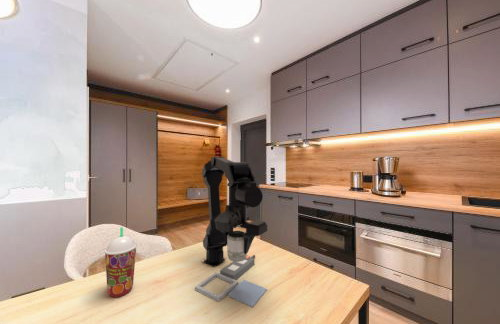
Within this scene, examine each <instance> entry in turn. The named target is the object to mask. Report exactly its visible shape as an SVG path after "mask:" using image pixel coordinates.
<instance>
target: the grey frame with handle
mask: <svg viewBox="0 0 500 324" xmlns="http://www.w3.org/2000/svg"><path fill="white" fill-rule="evenodd" d="M255 258H256V255H255V254H253V255H248V254H247V255H246V259H245V260H243V261H240V262H234V261H231V262H230V263H229V264H228V265H225V267H222V269H221V270H220V272H214V273H213V274H211V275H210V276H208V277H207V278H205V279H204V280H202V281H201V282H199V283H198V284H197V285H195V286H194V291H196V292H198V293H200V294H202V295H204V296H205V297H208V298H210V299H212V300H214V301H216V302H217V303H219V302H221V300H223V299H224V298H225V297H226V296H228V294H229V293H230V292H231V291H232V290H233V289H234V288H235V287H236V286H237V285H239V280H238V279H239V278H240V277H242V276H243V275H244V274H245V273H247V272H248V271H249V270H250V269H251V268H252V267H253V266H255ZM216 278H217V279H220V280H222V281H224V282H227V283H230V285H228V287H227V288H225V289H224V290H223V291H221V292H220V293H219V294H216V293H214V292H212V291H210V290H208V289H206V288H204V287H205V286H206V285H208V284H209V283H210V282H212V281H213V280H215V279H216Z"/></svg>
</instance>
